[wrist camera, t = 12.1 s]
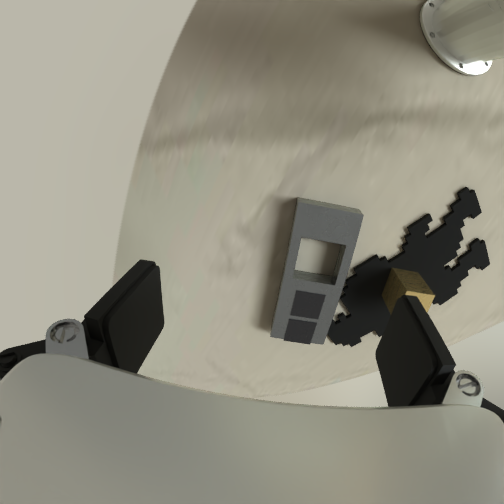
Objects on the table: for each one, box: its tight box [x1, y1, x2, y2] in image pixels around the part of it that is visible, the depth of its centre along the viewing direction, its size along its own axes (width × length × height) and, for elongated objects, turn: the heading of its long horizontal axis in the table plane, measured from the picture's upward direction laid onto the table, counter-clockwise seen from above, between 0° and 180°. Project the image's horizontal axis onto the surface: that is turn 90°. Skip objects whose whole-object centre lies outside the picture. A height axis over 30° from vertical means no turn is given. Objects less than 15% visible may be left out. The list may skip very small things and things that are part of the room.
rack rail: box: [270, 197, 363, 344], centre depth 37 cm, size 20×8×3 cm, turn 172°
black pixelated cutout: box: [327, 187, 490, 347], centre depth 37 cm, size 16×1×30 cm
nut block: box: [382, 268, 435, 314], centre depth 34 cm, size 4×4×7 cm
